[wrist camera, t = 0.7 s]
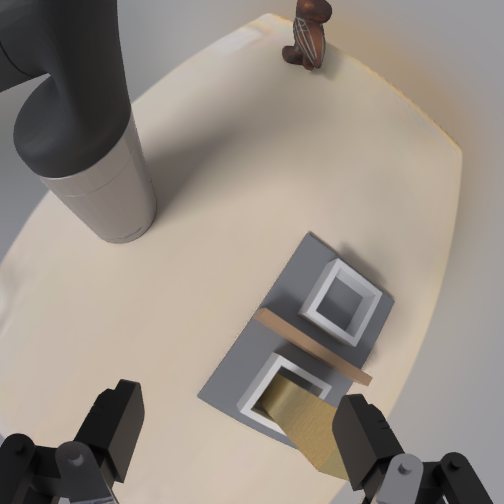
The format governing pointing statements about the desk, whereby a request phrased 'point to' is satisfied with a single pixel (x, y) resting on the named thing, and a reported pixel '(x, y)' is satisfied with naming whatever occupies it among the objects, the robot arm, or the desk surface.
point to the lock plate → (301, 338)
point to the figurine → (308, 34)
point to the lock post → (305, 423)
